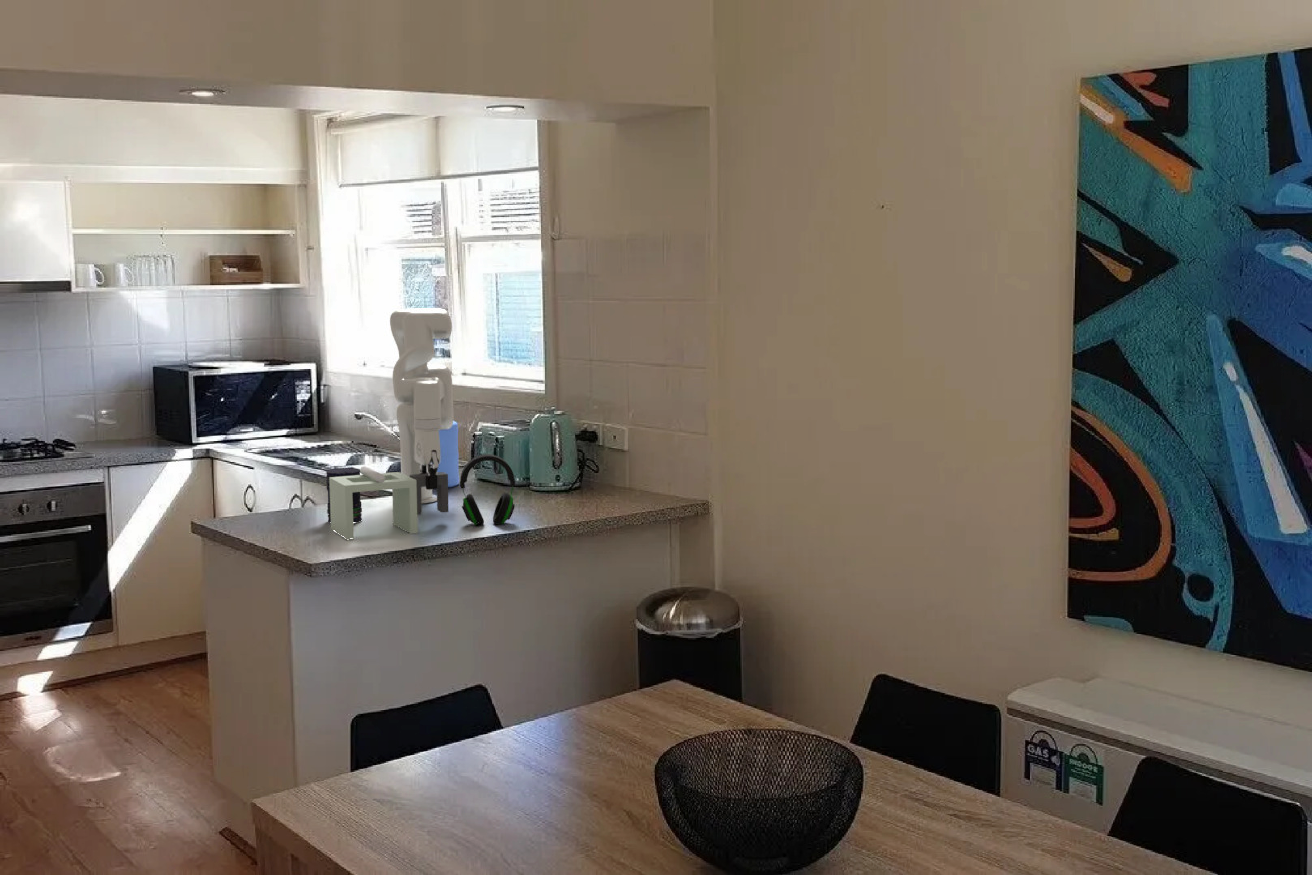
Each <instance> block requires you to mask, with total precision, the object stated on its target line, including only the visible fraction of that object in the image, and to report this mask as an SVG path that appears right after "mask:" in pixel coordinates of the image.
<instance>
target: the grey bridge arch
mask: <svg viewBox="0 0 1312 875" xmlns="http://www.w3.org/2000/svg"><path fill="white" fill-rule="evenodd" d="M426 476H427V473H426V474H413V475H410V477H411V478H413V479H415V480H416V487H417V516H422V513H423V512H422V511H423V510H422V504H421V487H426ZM436 496H437V501H436V506H437V507H436V510H437V511H439V512H440V513H449V487H448V474H446V473H444V472H437V489H436Z"/></svg>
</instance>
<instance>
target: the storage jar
mask: <svg viewBox="0 0 1312 875" xmlns="http://www.w3.org/2000/svg"><path fill="white" fill-rule="evenodd" d="M360 469H361V468H357V467H356V468H355V467H339V468H337V467H336V468H331V469H327V470H326V471H325V474H326V477H325V478H326V480H325V481H326V482H325V483H326V491H327V509H326V510H327V512H326V513H327V517H328V519H327V523H328V522H331V513H330V484H329V477H341V476H354V475H361V473H360ZM352 497H353V522H359V521H361V520H362V521H363V519H362V515H363V508H362V501H361V492H352ZM362 521H361V522H362ZM359 523H360V522H359Z"/></svg>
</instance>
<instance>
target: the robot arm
mask: <svg viewBox="0 0 1312 875" xmlns="http://www.w3.org/2000/svg"><path fill="white" fill-rule="evenodd" d="M389 316H390V318H389V324H390V331H391V335H392V337H393V339H394V342H395V344H396V348H397V351H398V359H397V361H396V363H395V364H394V367H393V370H392V384H393V386H392V387H393V394H394V398H395V400H396V401H397V402H398V403H400V404H398V406H397V408H396V421H397V427H398V433H399V443H400V444H399V446H400V449H399V450H400V473H402V474H404V475H406V476H409V477H410V475H413V474H426V473H427V476H426V487H421V505H422V504H430V503H433V502H437V494H436V495H435V494H433V490H437V470H438V467H439V466H438V464H439V463H440V457H441V455H440V437H439V430H446V429H449V428H451V427H452V425H453V421H455V420H454V418H455V417H454V416H455V414H454V393H453V378H452V373H451V370H450V368H449V367H448V366H446V365H443V364H428V363H429V362H431V360H433V359H434V356H435V343H434V339H435V340H436V339H437V340H438V339H440V340H442V339H448V338H450V336H451V335H452V331H453V323H452V322H453V321H452V318H451V316H450V314H449V312H448V311H447V310H446V309H443V308H407V309H406V308H405V309H398V310H395V311H393V312H392V313H391V315H389Z"/></svg>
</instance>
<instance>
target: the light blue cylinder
mask: <svg viewBox="0 0 1312 875" xmlns="http://www.w3.org/2000/svg"><path fill="white" fill-rule="evenodd" d="M458 426H459V424H458V422H456V421H455V420H453V425H452V427H451V428H449V429H446V430H439V437H440V455H441V457H440V463H439V464H438V466H439V467H438V470H437V472H444V473H446V474H448V488H452V487H456V486H458V485H460V475H459V470H460V469H459V458H460V456H459V455H460V454H459V439H458V438H459V428H458Z"/></svg>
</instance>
